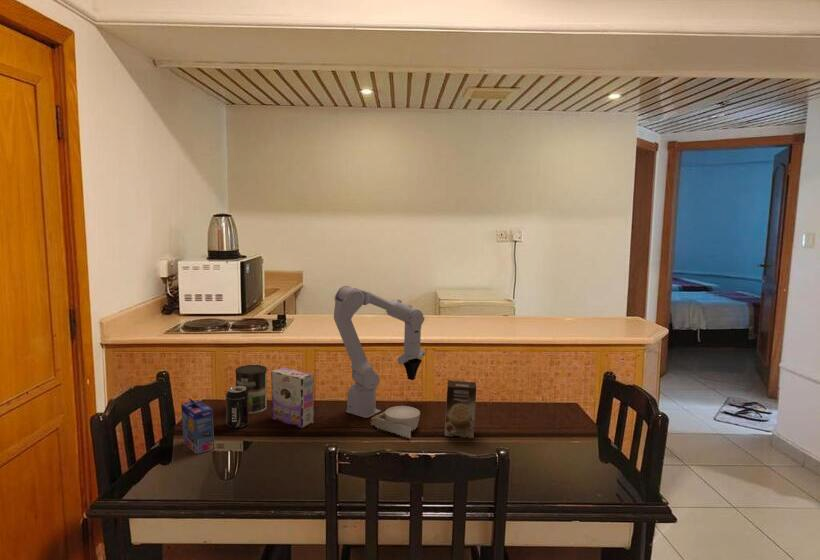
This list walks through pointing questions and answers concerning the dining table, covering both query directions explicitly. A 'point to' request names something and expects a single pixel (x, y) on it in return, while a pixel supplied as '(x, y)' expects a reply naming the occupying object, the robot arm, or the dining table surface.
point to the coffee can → (254, 385)
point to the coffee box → (460, 409)
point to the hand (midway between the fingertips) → (411, 379)
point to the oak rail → (381, 415)
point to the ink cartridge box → (197, 426)
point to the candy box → (292, 397)
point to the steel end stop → (393, 427)
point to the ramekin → (403, 416)
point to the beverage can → (237, 407)
